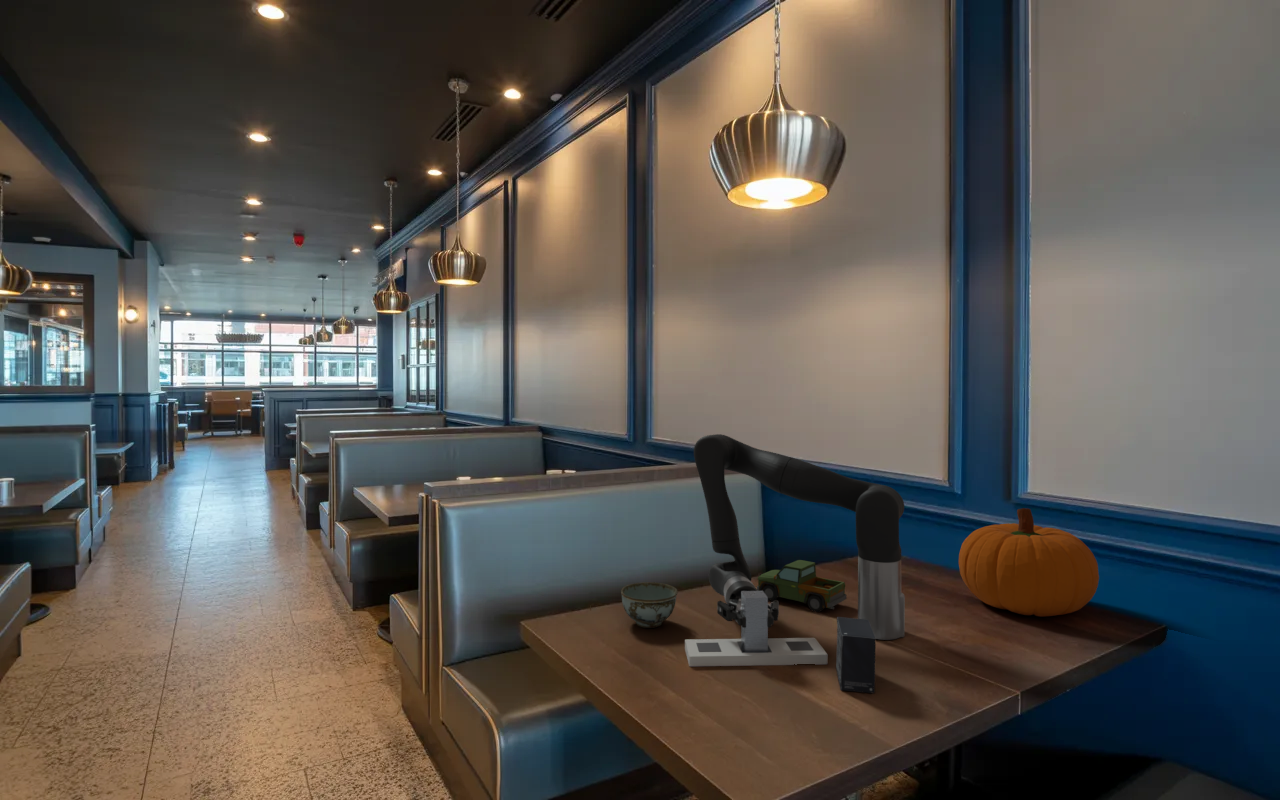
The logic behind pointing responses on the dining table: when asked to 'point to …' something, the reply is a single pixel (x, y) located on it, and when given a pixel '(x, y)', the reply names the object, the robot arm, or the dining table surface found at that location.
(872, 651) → the small box
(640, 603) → the bowl
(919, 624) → the dining table surface
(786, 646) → the white slotted plate
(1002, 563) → the decorative pumpkin
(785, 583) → the toy truck
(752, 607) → the brushed metal pillar
